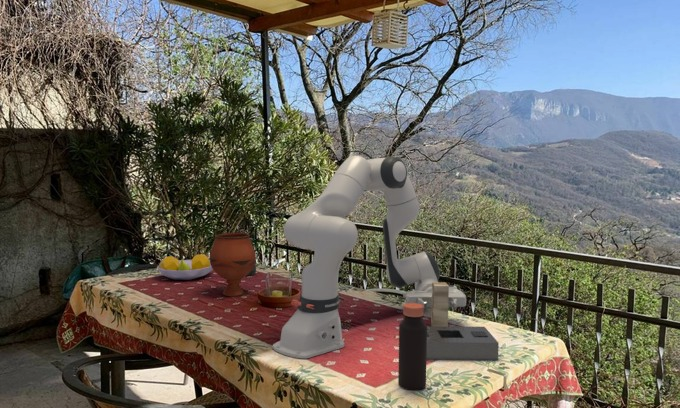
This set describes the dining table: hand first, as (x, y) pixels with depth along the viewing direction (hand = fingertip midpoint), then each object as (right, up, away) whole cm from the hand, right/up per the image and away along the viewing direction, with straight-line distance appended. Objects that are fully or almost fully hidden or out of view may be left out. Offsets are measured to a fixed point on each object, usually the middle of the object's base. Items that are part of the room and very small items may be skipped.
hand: (439, 305), depth 163 cm
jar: (-78, -2, +83) cm, 114 cm away
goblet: (-77, -5, +48) cm, 91 cm away
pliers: (-34, -6, +46) cm, 57 cm away
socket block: (0, -10, -16) cm, 19 cm away
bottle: (-14, -12, -38) cm, 43 cm away
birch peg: (0, -9, 0) cm, 9 cm away
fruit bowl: (-106, -2, +77) cm, 131 cm away
